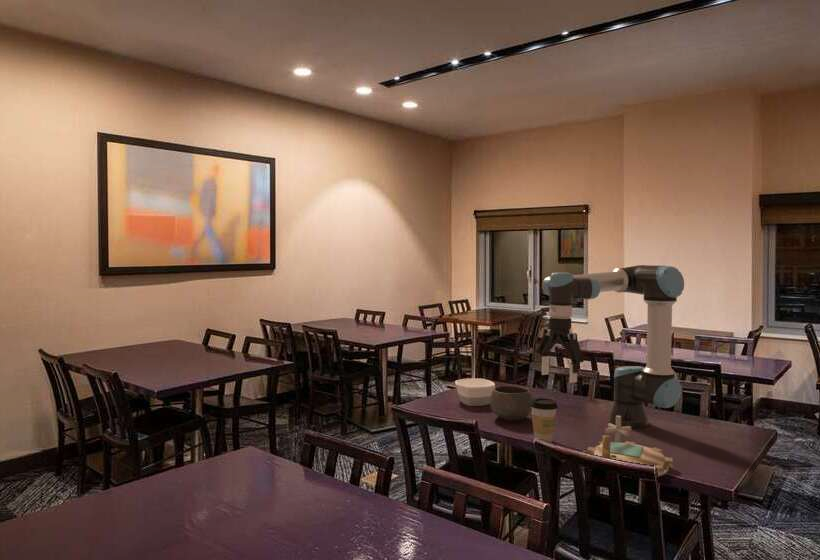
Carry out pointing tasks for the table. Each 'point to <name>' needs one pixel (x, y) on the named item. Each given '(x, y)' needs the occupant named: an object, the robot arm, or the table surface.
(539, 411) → the coffee cup
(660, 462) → the sprocket
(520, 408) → the bowl
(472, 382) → the bowl
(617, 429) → the light wooden cross
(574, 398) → the table surface
